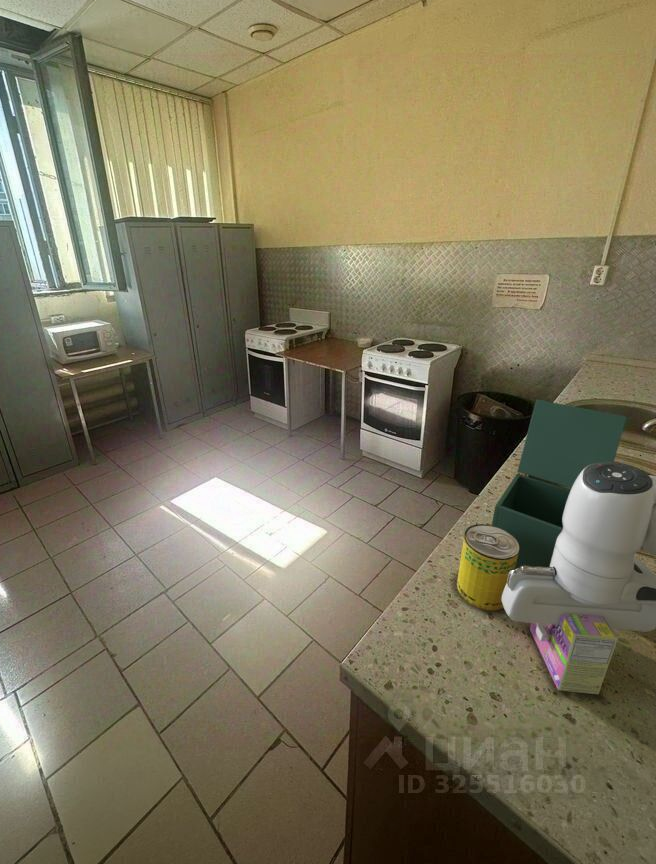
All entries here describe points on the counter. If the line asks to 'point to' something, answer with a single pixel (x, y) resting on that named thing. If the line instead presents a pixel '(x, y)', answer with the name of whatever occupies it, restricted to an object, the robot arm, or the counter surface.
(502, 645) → the counter surface
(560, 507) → the chest
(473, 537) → the yellow tin can
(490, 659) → the counter surface
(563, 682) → the box
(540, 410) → the lid
